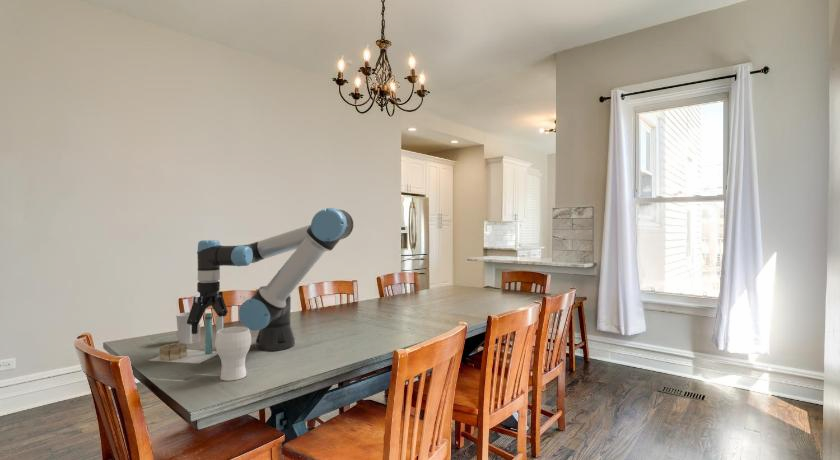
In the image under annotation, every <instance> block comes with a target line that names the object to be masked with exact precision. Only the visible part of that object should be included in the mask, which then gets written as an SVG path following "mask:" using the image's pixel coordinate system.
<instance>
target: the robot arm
mask: <svg viewBox="0 0 840 460" xmlns="http://www.w3.org/2000/svg"><path fill="white" fill-rule="evenodd" d="M353 229H354V220H353V218H352V216H351V214H350V213H348V211H345V210H344V209H337V208H335V207H329V208H324V209H321V210H319V211H318V212H316V213H315V214H314V216H313V218H312V219H311V223H310V224H309V225H304V226H302V227H300V228H295V229H293V230H289V231H287V232H286V231H285V232H283V233H281V234H277V235H274V236H271V237H268V238H264V239H261V240H259V241H255V242H252V243H249V244H241V245H221V242H220V240H215V239H214V240H212V239H210V240H209V239H207V240H199V241H198V242H197V251H196V254H197V281H198V282H197V285H196V286H197V288H196V289H197V293H198V294H199V296H193V300H192V304H191V308H190V310H189V312H190V314H189V317H188V320H187V324H189V325H192V342H193V343H192V344H194V343H196V344H197V343H198V344H199V343H201V324H200V321H201V320H202V317H203V316H204V313H205V311H206V310H207V309H208V308H210V307H211V308H212V309H213V310H214V312H215V314H216V315H217V316H215V333H216V334H217V331H218V330H220V329H224V322H225V321H224V318H225V317H226V316H227V315H228V308H227V306H226V302H225V299H224V294H223V291H220V289H221V288H220V286H221V285H220V284H221V283H220V281H219V280H221V275H220V274H221V269H220V268H221V267H224V266H226V267H228V266H229V267H247V266H250V265H251V264H256V263H258V262H260V261H262V260H265V259H268V258H272V257H275V256H278V255H281V254H284V253H287V252H288V253H289V252H290V251H294V250H295V251H294V252H293V253H292V254H291V255H290V257H289V258H288V259H287V260H286V262H284V264H283V265H282V266H281V267H280V269H279V270H278V271H277V273H276V274H275V275H274V276H273V278H272V279H270V281H269V282H268V284H267V285H263V286H260V287H259V288H258V289H257V291H255V293H254V294H253V295H252V296H251V297H250V298H249V299H246V300H245V301H244V302H243V303H242V304H241V305H240V307H239V309H238V316H239V320H240V323H241V324H242V325H243V327H247V328H249V330H250V331H258V333H257V336H256V339H255V347H254V348H255V349H256V350H260V351H268V352H269V351H272V352H274V351H282V350H287V349H290V348H293V347H294V346H296V338H295V335H294V333H293V329H292V326H291V311H292V310H291V309H292V307H291V304H292V303H291V301H292V300H291V299H292V297H291V294H292V293H293V291H294V290H295V289H296V287H298V285H299V284H300V283H301V281H303V279H304V278H305V277H306V275H307V274H308V273H309V272H310V271H311V269H312V268H313V267H314V266H315V264H316V263H317V262H318V261H319V260H320V258H321V257H322V256H323V255H324V254H325V253H326V252H331V251H332V250H333V249H334V248H335V246H337V244H338V243H339V242H340V241H341V240H344V239H346V238H347V237H349V236H350V235H351V234H352V232H353Z"/></svg>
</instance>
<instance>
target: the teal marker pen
mask: <svg viewBox="0 0 840 460" xmlns="http://www.w3.org/2000/svg"><path fill="white" fill-rule="evenodd" d="M204 337H205V338H204V347H205V348H204V351H205V354H212V351H213V313H212V312H207V313H205V314H204Z"/></svg>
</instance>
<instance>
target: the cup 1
mask: <svg viewBox="0 0 840 460" xmlns="http://www.w3.org/2000/svg"><path fill="white" fill-rule="evenodd" d="M189 314H190V311H189V312H188V311H187V312H182V313H181V312H180V313H177V314H176V315H175V316H176V317H175V318H176V325H177V326H176V327H177V337H178V343H185V344H186V345H189V344H190V345H191V344H194V343H193V342H192V325H189V324H187V320H188V317H189Z"/></svg>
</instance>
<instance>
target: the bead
mask: <svg viewBox="0 0 840 460" xmlns="http://www.w3.org/2000/svg"><path fill="white" fill-rule="evenodd" d="M187 345H188V344H185V343H179V342H173V343H167V344H164V345H162V346H159V356H160V360H165V361H169V360H170V361H171V360H177V359H181V358H184V357H186V356H187V350H188V347H187Z"/></svg>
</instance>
